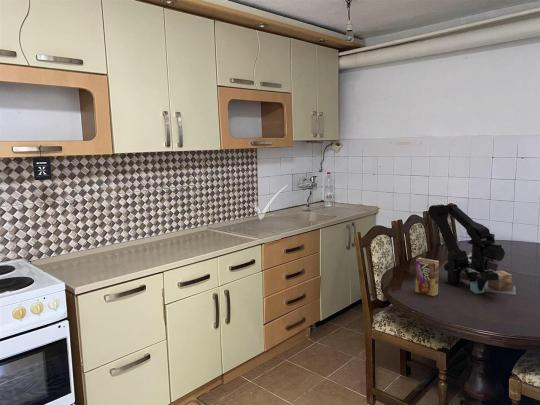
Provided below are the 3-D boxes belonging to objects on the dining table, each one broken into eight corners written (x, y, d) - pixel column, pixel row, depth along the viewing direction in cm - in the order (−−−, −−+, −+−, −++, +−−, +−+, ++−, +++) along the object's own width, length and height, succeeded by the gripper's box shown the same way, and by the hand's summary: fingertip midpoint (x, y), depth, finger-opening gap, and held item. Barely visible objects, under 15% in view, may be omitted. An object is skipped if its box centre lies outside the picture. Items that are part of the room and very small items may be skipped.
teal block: (476, 293, 179) (476, 284, 179) (470, 290, 183) (470, 281, 183) (484, 292, 180) (484, 283, 179) (478, 289, 184) (478, 280, 183)
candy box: (438, 293, 180) (439, 260, 178) (434, 296, 177) (435, 262, 175) (419, 289, 186) (419, 256, 184) (414, 291, 183) (415, 259, 181)
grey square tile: (515, 295, 175) (515, 294, 175) (484, 291, 181) (484, 290, 181) (515, 286, 186) (515, 285, 186) (485, 282, 192) (485, 282, 192)
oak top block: (499, 283, 180) (499, 275, 179) (489, 279, 185) (490, 271, 185) (511, 282, 181) (511, 274, 180) (501, 277, 186) (502, 270, 186)
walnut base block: (498, 291, 179) (499, 283, 179) (487, 286, 186) (488, 278, 186) (512, 290, 181) (513, 282, 180) (501, 284, 187) (501, 277, 187)
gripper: (510, 259, 171) (508, 295, 174) (480, 248, 190) (479, 280, 192) (487, 261, 170) (485, 297, 172) (459, 250, 188) (457, 282, 190)
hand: (477, 289), depth 181 cm, fingers closed on teal block, 4 cm apart
